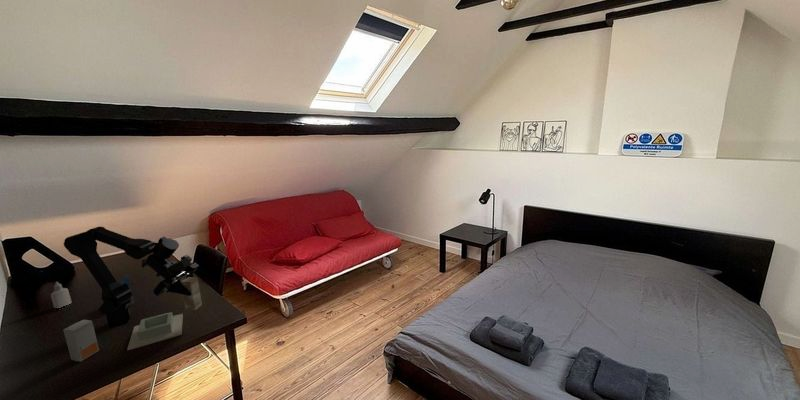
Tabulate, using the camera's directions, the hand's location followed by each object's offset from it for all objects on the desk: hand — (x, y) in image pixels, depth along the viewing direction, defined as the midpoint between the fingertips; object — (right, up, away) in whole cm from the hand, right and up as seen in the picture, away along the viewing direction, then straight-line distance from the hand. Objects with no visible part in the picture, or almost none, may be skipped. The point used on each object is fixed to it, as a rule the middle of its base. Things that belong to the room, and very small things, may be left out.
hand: (194, 292), depth 127 cm
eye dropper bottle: (-70, -12, +18) cm, 73 cm away
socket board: (-13, -15, -2) cm, 20 cm away
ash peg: (-1, -6, +2) cm, 7 cm away
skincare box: (-29, -18, -15) cm, 37 cm away
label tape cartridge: (-43, -11, +20) cm, 49 cm away
